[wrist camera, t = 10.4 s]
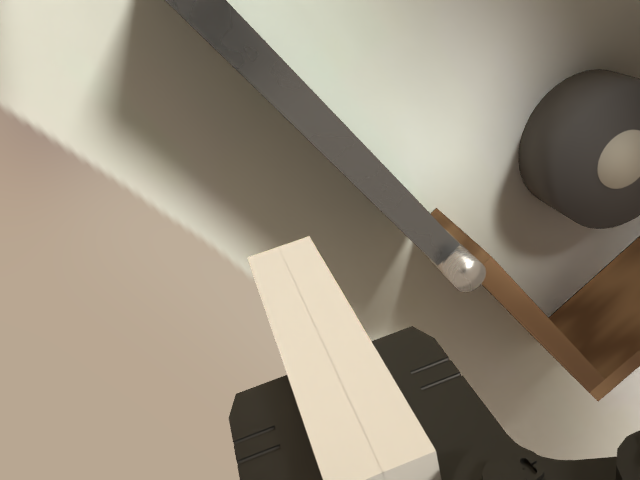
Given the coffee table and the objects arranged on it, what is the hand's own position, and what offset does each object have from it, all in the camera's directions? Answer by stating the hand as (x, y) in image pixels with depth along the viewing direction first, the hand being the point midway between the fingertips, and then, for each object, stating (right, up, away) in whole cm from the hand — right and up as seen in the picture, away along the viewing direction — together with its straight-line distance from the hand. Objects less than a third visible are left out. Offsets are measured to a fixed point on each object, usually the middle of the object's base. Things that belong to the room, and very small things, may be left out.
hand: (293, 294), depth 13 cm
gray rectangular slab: (0, +7, +14) cm, 16 cm away
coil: (+16, +7, +19) cm, 26 cm away
